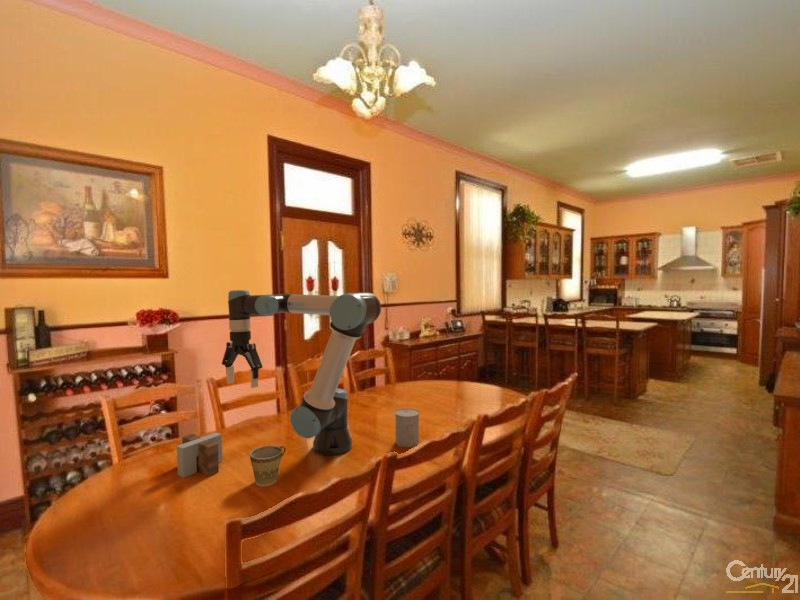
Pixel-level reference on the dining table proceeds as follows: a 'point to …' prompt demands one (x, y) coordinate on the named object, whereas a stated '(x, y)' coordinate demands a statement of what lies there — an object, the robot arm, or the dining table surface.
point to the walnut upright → (205, 455)
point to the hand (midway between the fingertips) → (242, 385)
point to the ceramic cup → (266, 464)
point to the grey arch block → (194, 454)
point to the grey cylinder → (407, 427)
